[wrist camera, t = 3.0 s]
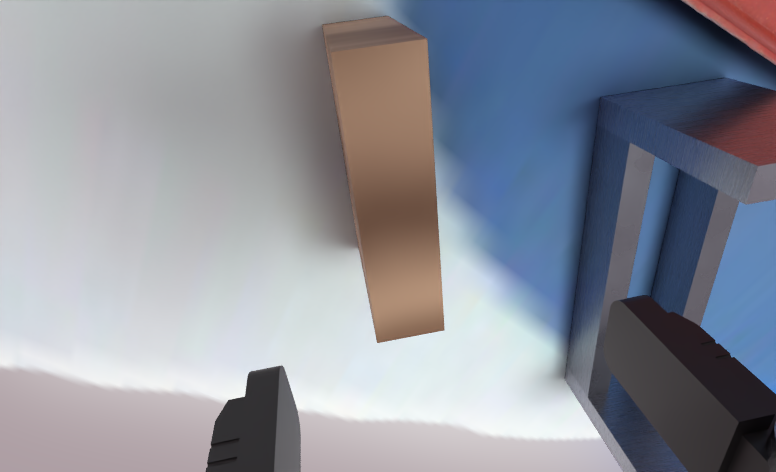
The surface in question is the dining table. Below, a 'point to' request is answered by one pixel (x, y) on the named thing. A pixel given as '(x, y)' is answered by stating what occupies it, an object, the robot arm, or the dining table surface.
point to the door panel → (390, 169)
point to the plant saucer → (744, 21)
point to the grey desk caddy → (683, 233)
